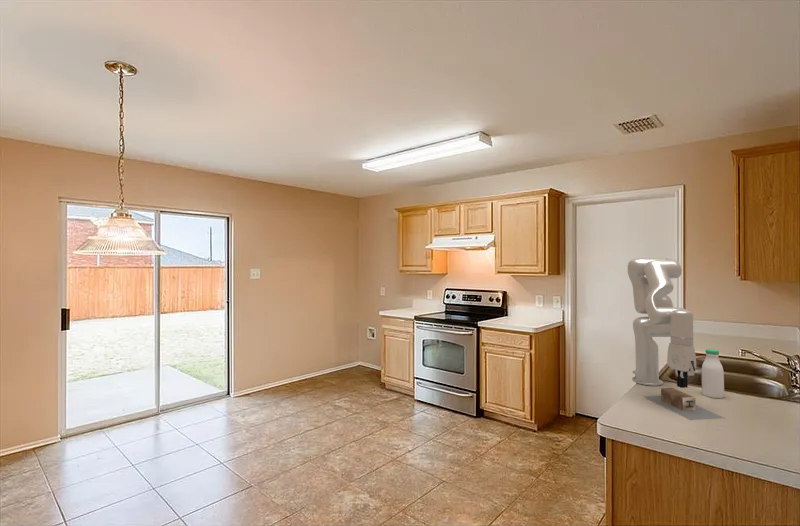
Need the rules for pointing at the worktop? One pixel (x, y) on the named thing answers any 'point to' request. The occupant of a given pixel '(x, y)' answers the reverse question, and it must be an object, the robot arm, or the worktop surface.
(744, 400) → the worktop surface
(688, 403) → the walnut block
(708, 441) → the worktop surface
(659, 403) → the mat
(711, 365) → the milk bottle
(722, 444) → the worktop surface
